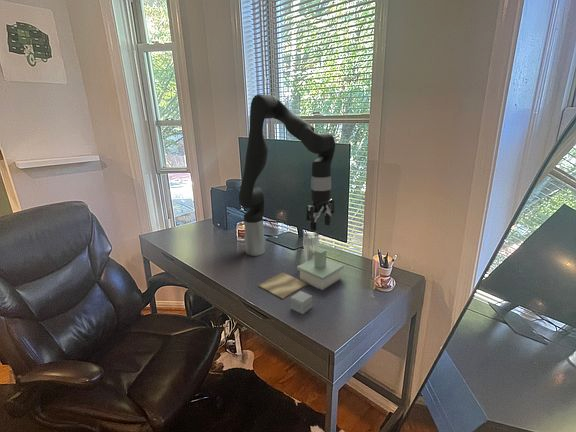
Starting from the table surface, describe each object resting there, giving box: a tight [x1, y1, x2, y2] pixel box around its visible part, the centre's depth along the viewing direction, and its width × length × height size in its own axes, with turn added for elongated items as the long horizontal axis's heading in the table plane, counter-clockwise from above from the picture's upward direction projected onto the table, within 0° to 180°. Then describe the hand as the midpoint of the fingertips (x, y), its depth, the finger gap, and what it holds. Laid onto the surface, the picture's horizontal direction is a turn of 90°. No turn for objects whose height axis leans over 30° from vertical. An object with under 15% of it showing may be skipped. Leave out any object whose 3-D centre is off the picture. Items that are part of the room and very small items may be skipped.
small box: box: [290, 290, 313, 315], centre depth 113 cm, size 6×6×5 cm
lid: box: [296, 247, 345, 280], centre depth 129 cm, size 14×14×8 cm
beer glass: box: [302, 231, 320, 263], centre depth 142 cm, size 7×7×15 cm
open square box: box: [299, 269, 342, 291], centre depth 131 cm, size 12×12×5 cm
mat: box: [257, 272, 308, 300], centre depth 128 cm, size 14×14×1 cm
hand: (320, 227), depth 125 cm, fingers open, 8 cm apart
